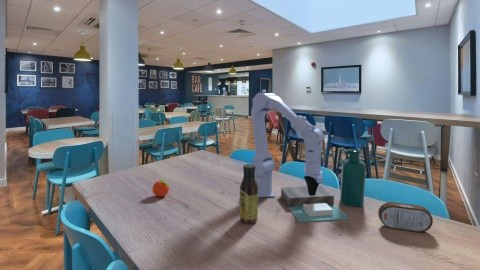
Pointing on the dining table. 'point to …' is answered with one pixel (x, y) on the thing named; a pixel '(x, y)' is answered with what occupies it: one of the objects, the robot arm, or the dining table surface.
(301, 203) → the grey flat block
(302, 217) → the mat
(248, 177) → the sauce bottle
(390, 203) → the tin
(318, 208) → the white block
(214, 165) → the dining table surface
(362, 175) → the green bottle
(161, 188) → the clementine
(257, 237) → the dining table surface
